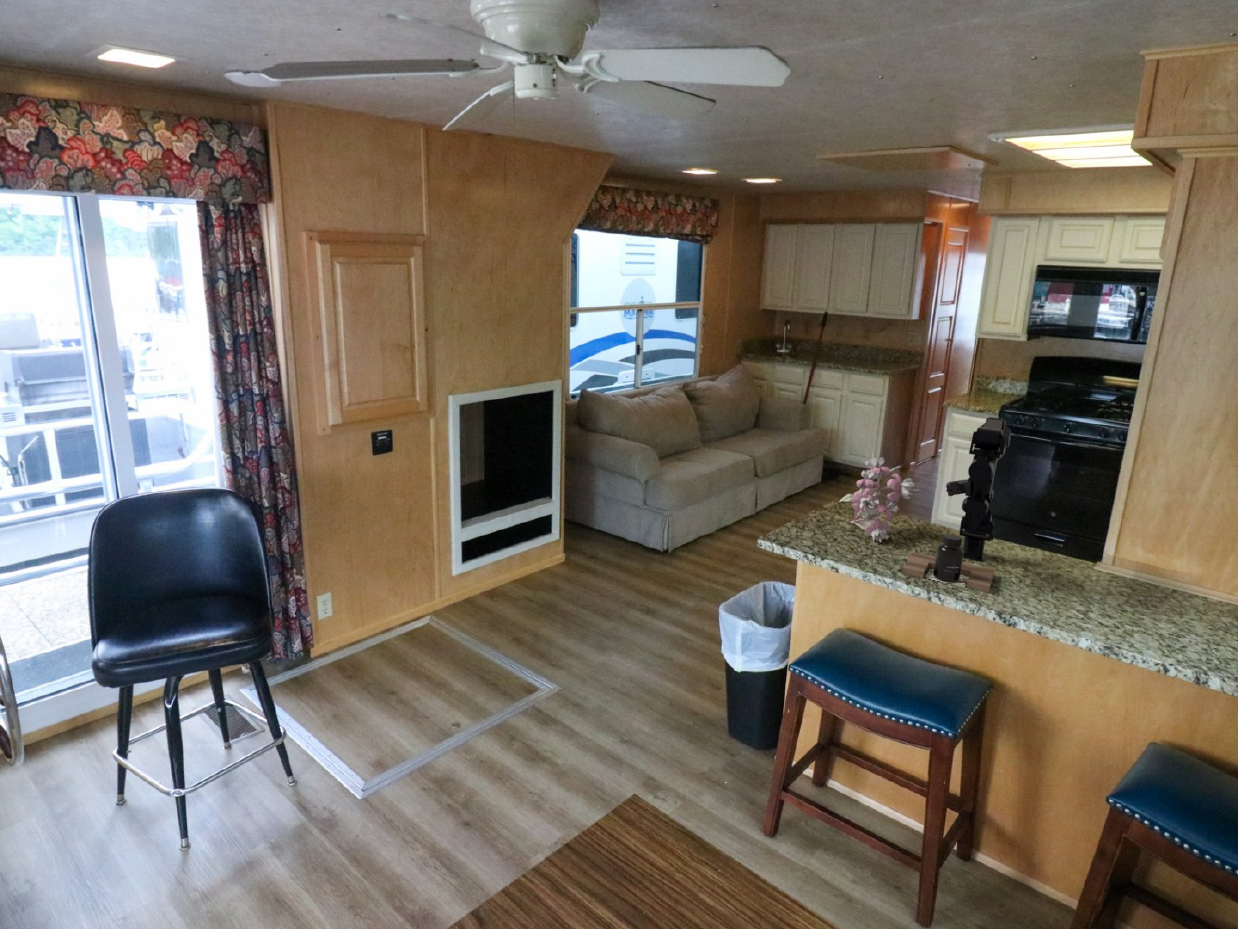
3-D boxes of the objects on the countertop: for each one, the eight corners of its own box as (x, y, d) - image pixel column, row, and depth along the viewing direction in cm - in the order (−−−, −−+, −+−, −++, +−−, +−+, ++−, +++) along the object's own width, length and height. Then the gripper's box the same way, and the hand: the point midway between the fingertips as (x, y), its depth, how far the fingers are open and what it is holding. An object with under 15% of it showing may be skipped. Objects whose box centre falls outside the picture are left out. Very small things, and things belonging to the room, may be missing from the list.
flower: (813, 526, 244) (852, 466, 231) (839, 503, 262) (877, 446, 248) (867, 566, 237) (910, 506, 224) (890, 539, 255) (932, 482, 241)
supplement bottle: (950, 585, 207) (956, 543, 204) (927, 576, 212) (933, 535, 209) (964, 579, 211) (971, 538, 208) (941, 571, 216) (948, 531, 213)
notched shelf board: (911, 558, 225) (912, 552, 225) (993, 575, 215) (994, 569, 214) (902, 574, 214) (903, 567, 213) (988, 593, 203) (989, 586, 202)
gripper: (955, 462, 222) (947, 513, 226) (945, 476, 206) (937, 531, 210) (997, 468, 216) (988, 521, 220) (991, 483, 201) (981, 539, 205)
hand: (973, 527), depth 214 cm, fingers open, 9 cm apart
